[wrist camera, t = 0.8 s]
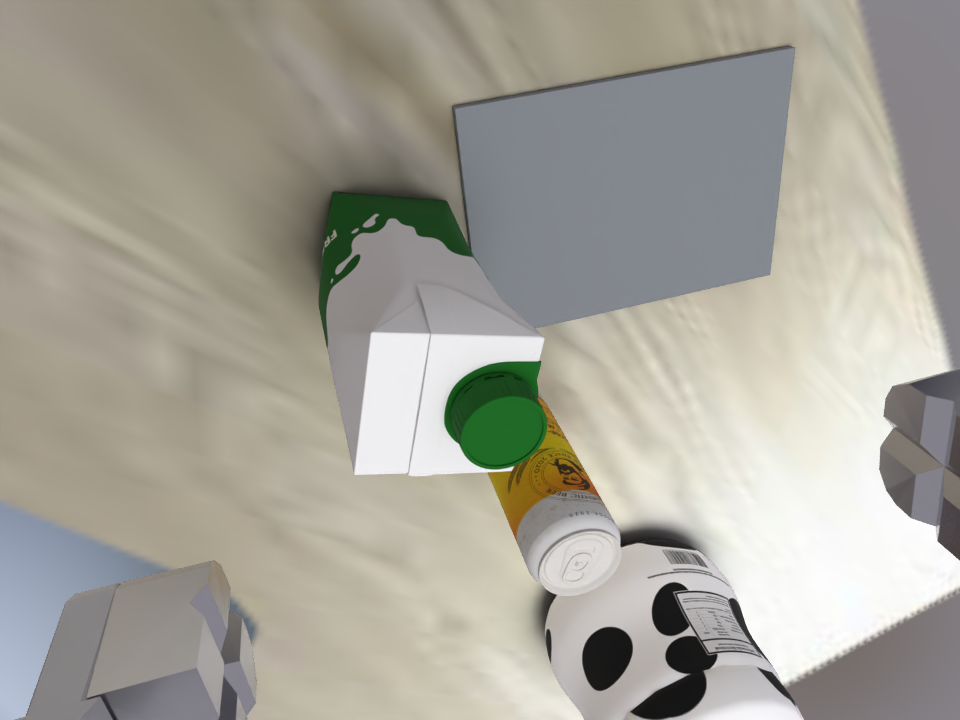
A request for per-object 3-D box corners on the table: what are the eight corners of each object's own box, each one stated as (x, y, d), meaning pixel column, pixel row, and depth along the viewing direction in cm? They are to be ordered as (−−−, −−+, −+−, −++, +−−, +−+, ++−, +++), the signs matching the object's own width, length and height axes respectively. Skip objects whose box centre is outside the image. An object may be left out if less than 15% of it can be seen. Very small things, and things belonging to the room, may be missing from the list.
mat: (452, 106, 47) (455, 108, 47) (789, 45, 51) (795, 47, 50) (480, 336, 56) (482, 340, 55) (765, 271, 59) (770, 274, 59)
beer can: (558, 391, 60) (642, 528, 48) (534, 455, 63) (607, 600, 51) (483, 383, 58) (551, 524, 46) (461, 450, 61) (520, 601, 49)
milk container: (556, 679, 79) (630, 867, 64) (513, 569, 69) (589, 762, 55) (716, 611, 80) (825, 782, 65) (696, 494, 70) (819, 663, 56)
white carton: (442, 312, 54) (534, 509, 38) (306, 307, 51) (341, 518, 35) (463, 187, 50) (577, 348, 34) (315, 174, 47) (361, 344, 31)
